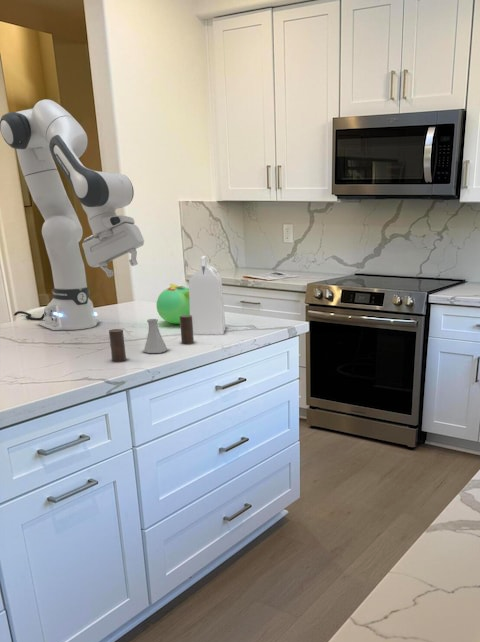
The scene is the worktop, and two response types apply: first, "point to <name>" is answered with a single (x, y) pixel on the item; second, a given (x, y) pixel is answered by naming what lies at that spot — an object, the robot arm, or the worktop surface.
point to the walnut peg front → (117, 345)
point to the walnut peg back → (186, 329)
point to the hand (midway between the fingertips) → (122, 270)
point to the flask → (154, 338)
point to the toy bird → (173, 303)
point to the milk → (206, 300)
